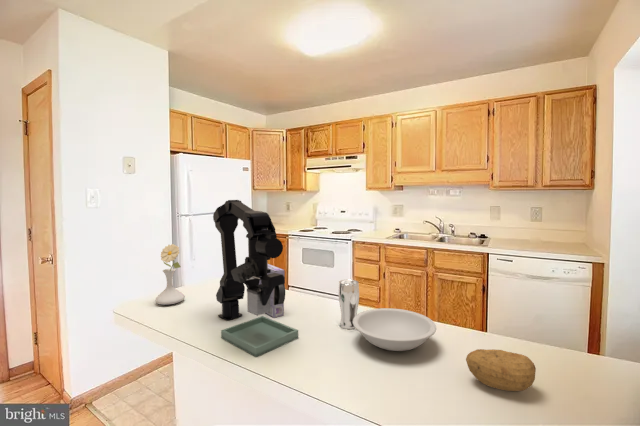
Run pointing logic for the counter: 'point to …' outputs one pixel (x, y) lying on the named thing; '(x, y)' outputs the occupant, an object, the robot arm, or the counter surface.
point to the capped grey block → (256, 302)
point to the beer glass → (348, 302)
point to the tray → (259, 335)
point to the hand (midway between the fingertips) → (258, 303)
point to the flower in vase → (170, 277)
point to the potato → (502, 369)
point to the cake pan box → (276, 295)
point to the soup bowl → (394, 328)
